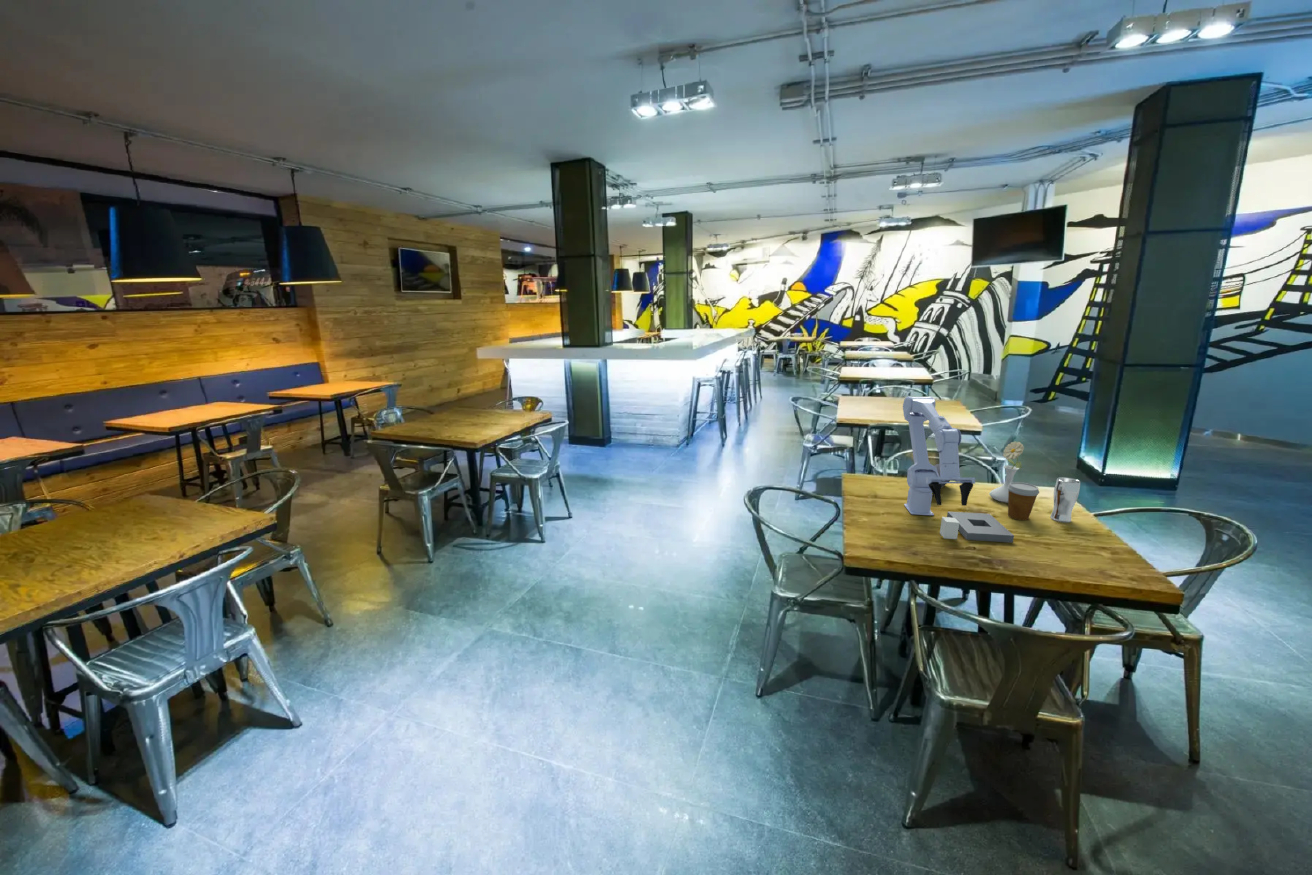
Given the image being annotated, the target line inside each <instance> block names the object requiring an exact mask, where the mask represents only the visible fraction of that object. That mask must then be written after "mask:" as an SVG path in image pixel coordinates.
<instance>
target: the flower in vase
mask: <svg viewBox="0 0 1312 875" xmlns="http://www.w3.org/2000/svg"><path fill="white" fill-rule="evenodd" d="M1024 449H1025V446H1024V444H1023V443H1022V442H1020V441H1016V440H1015V441H1012V442H1010V443H1009V444H1007V445H1006V446H1005V448H1004V450H1003V455H1002V456H1003V458H1005V459H1006V461H1008V462H1009V463H1010V464H1011V465H1007V464H1006V465H1003V468H1004V469H1005V476H1006V477H1005V482H1004V483H1003V484H1002V485H1001V486H999V487H996V488H994V489H992V490H991V491H990V492H989V496H990V497H991V498H992V499H994V500H996V501H999V502H1002V503H1006V504H1008V493H1009V490H1008V486H1009V484H1010V483H1012V482H1014V481H1013V480H1014V476H1015V474H1016V472H1017V471H1019V470H1020V469H1023V467H1022V462H1021V461H1019V458H1018V457H1020V456H1021V455H1022V454H1023V452H1024ZM1015 459H1016V461H1015V462H1014V461H1013V460H1015Z"/></svg>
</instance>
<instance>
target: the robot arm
mask: <svg viewBox="0 0 1312 875" xmlns="http://www.w3.org/2000/svg"><path fill="white" fill-rule="evenodd" d="M902 411H903V416H904V420H905V421H906V422H908V428H909V436H910V440H911V441H910V442H911V449H912V455H913V456H912V457H913V464H912V465H911V466H910V467H908V469H907V471H906V472H907V476H906V484H907V485H908V487H909V489H908V492H907V497H906V498H907V500H906V503H904V504H903V505H904V507H905V508H906V509H907V511H908V512H909V513H910V514H911V515H917V516H919V515H922V516H935V513H934V512H932V510H931V507H932V499H933V497H934V500H935V502H936V505H937V506H942V488H941V486H942V485H941V484H940V483H947V484H960V485H959V491H960V503H961V506H962V507H963V506H964V507H965V506H967V504H968V499H969V496H970V494H971V491H972V489H973V488H974V484H976V477H964V476H963V477H962V476H961V474H960V473H961V472H960V471H961V469H960V458H959V457H960V454H959V446H960V445H961V442H962V433H961V431H960V429H959V428H955V427H952V425H951V424H950V423H949V422H948V420H947V419H946V418H945V417H944V415H940V414H939V413H938V410H937V409H936V399H935V398H934V397H933V396H906V397H905V398H904V400H903V404H902ZM926 421H928V427H929V429H930V430H931V432H932V433H933V434H934V442H935V444H936V451H937V452H938V455H939V456H938V457H939V458H938V460H939V464H940V477H939V475H938V472H937V468H936V467H935V466H934V465H933V464H932V463H930V461H929V453H928V452H929V451H928V446H927V440H926V434H925V426H924V422H926ZM945 480H947V481H949V482H941V481H945ZM932 493H933V494H932Z"/></svg>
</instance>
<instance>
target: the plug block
mask: <svg viewBox="0 0 1312 875" xmlns="http://www.w3.org/2000/svg"><path fill="white" fill-rule="evenodd" d="M940 522H941V523H940V530H939V534H940V536H941V537H942V536H943V537H942V539H947V540H948V539H949V540H957V539H958V534H959V531H958V529H959V522H958V521H957V519H956V518H951V517H947V516H942V517H941V520H940Z"/></svg>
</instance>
